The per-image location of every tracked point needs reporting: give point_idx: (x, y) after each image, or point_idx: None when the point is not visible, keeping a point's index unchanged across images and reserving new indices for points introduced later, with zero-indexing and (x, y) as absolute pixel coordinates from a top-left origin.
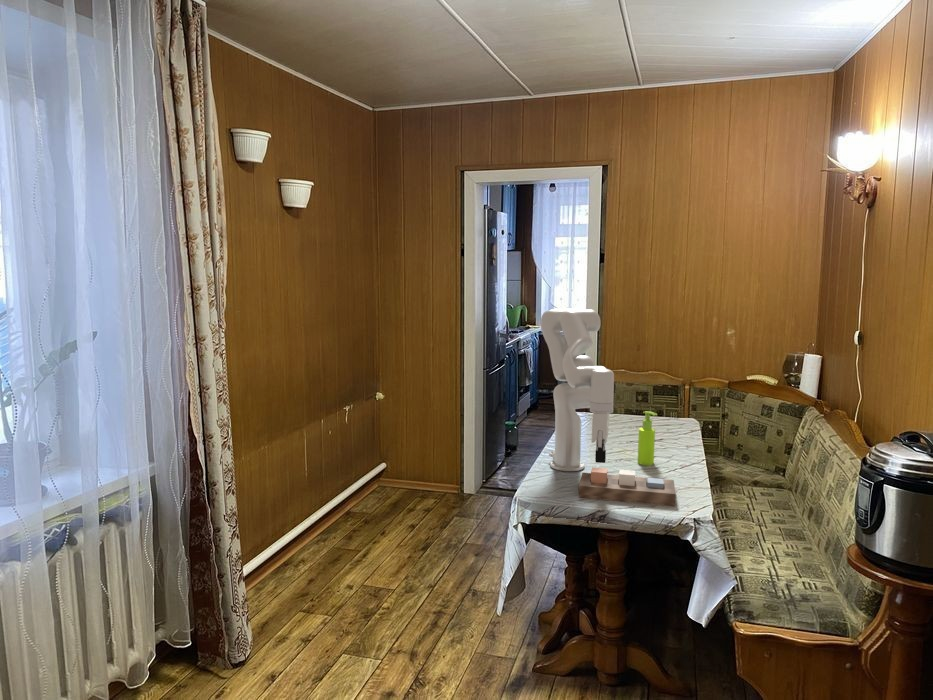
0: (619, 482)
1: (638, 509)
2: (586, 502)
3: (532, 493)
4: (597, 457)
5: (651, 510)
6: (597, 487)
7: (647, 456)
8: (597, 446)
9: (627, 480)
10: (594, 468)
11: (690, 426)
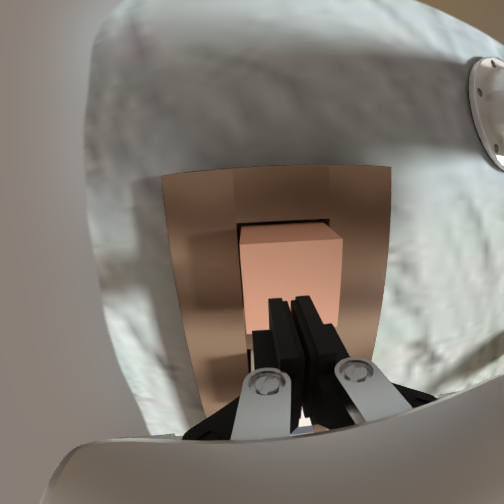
0: (251, 360)
1: (153, 377)
2: (135, 216)
3: (172, 3)
4: (271, 333)
5: (164, 402)
6: (173, 270)
7: None
8: (195, 434)
9: None
10: (320, 256)
11: None
